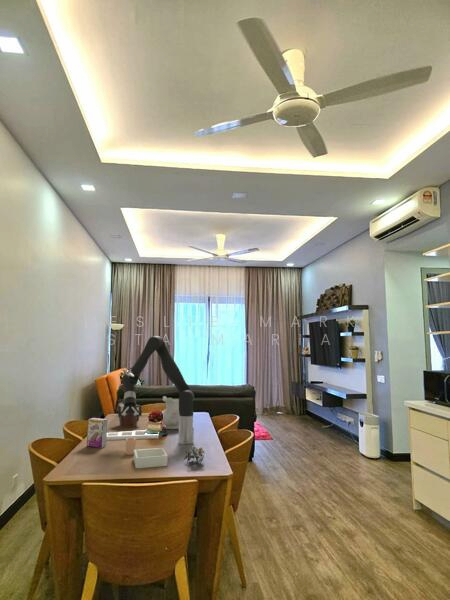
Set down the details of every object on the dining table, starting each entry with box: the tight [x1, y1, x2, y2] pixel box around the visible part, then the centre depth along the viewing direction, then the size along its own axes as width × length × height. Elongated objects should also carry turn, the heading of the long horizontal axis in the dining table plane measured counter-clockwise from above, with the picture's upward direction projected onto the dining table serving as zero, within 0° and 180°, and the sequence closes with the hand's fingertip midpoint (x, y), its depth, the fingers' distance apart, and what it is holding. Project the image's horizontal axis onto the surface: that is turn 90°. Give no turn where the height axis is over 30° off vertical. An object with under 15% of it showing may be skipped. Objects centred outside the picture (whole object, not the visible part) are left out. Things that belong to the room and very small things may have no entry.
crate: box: [133, 447, 169, 469], centre depth 196 cm, size 16×16×5 cm
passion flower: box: [183, 444, 205, 466], centre depth 195 cm, size 11×11×12 cm
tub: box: [125, 438, 137, 456], centre depth 213 cm, size 5×5×8 cm
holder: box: [106, 429, 159, 441], centre depth 253 cm, size 45×18×3 cm, turn 102°
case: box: [116, 400, 143, 428], centre depth 289 cm, size 18×20×18 cm
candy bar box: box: [86, 417, 108, 449], centre depth 227 cm, size 11×5×16 cm, turn 71°
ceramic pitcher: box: [161, 395, 179, 430], centre depth 285 cm, size 22×20×25 cm
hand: (130, 421), depth 225 cm, fingers open, 8 cm apart
